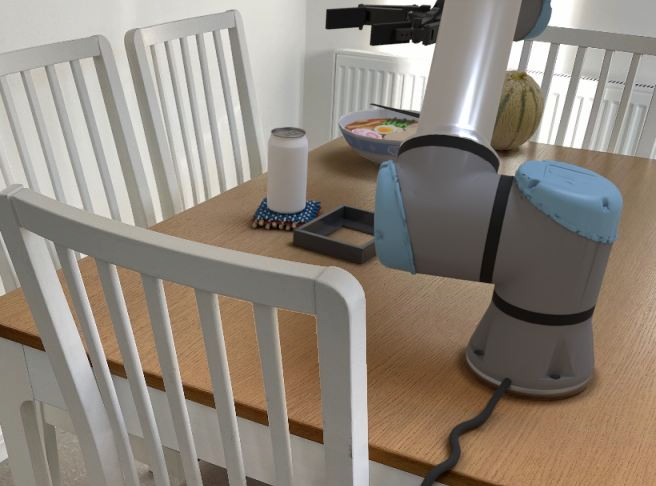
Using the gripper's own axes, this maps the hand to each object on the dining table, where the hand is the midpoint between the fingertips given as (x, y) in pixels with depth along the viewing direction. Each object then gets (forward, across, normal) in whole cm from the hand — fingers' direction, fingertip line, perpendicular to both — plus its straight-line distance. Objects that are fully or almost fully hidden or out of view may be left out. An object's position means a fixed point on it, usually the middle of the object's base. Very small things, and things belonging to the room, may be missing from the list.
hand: (348, 26), depth 125 cm
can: (+10, 0, -26) cm, 28 cm away
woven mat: (+9, 0, -28) cm, 30 cm away
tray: (+4, -12, -28) cm, 31 cm away
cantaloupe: (-50, +20, -28) cm, 61 cm away
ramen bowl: (-24, +20, -28) cm, 42 cm away
